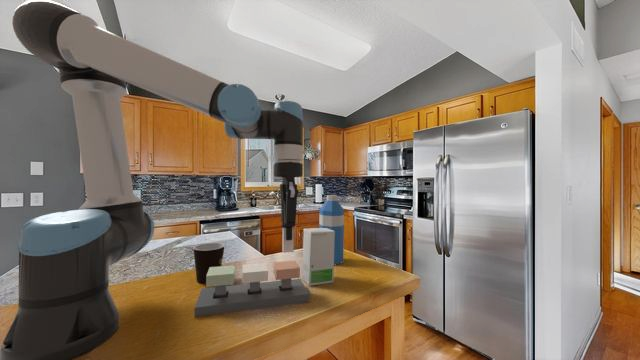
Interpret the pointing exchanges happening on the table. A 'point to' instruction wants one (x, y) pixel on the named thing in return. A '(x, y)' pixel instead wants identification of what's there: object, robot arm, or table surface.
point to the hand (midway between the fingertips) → (287, 251)
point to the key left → (220, 278)
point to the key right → (286, 272)
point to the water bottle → (334, 224)
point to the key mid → (255, 275)
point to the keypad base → (250, 297)
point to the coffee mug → (207, 259)
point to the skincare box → (318, 256)
